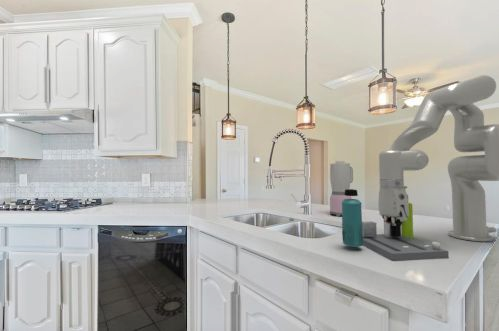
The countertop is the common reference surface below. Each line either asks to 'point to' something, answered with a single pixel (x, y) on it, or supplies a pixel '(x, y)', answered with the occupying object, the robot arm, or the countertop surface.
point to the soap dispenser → (408, 222)
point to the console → (404, 248)
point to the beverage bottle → (352, 220)
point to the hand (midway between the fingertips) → (392, 235)
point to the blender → (339, 185)
